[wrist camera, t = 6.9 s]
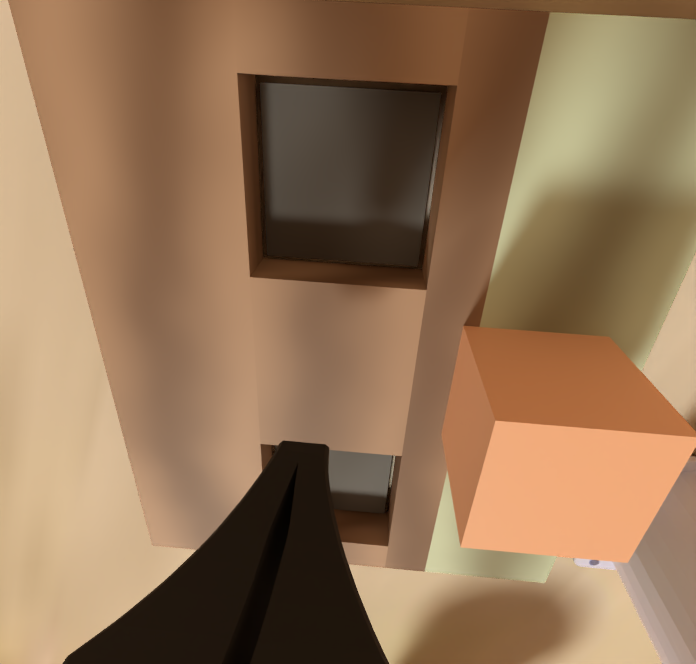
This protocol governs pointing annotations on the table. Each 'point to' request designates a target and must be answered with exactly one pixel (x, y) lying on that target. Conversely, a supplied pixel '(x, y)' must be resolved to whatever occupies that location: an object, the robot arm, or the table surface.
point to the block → (557, 445)
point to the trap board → (352, 230)
